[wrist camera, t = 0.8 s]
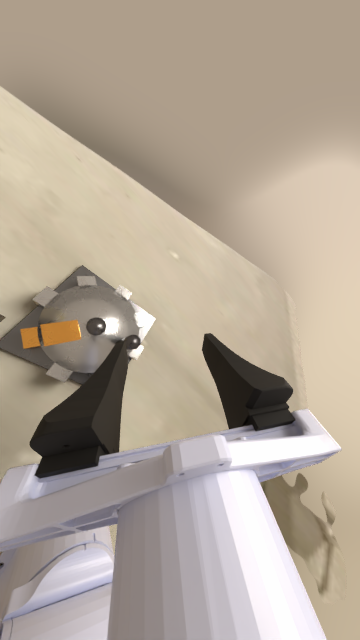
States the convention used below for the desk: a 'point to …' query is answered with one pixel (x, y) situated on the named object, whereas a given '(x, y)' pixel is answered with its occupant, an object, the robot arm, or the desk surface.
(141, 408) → the desk surface
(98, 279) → the plate
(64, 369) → the sprocket
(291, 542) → the desk surface
